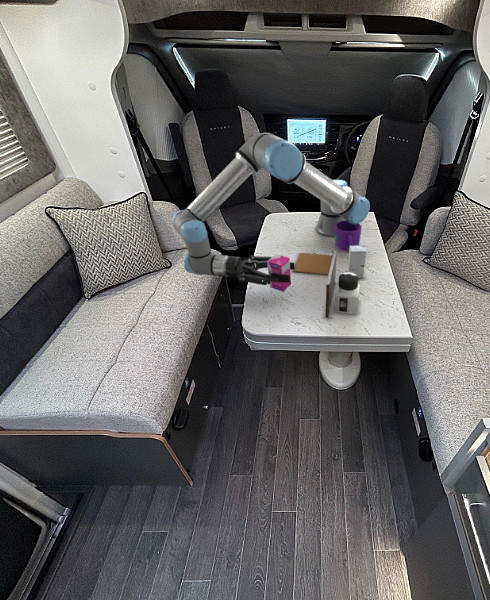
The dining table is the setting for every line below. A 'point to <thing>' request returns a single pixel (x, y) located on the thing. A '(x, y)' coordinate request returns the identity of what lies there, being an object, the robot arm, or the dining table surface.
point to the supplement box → (279, 271)
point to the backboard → (330, 284)
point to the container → (347, 293)
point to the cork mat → (313, 263)
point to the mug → (347, 235)
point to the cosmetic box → (357, 260)
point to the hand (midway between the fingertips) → (291, 272)
